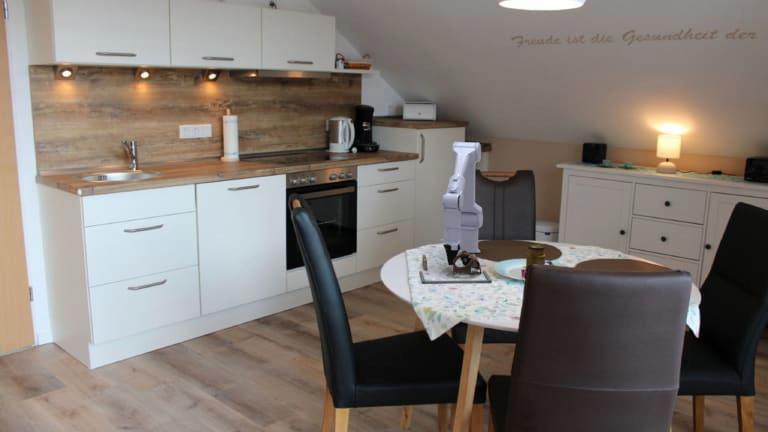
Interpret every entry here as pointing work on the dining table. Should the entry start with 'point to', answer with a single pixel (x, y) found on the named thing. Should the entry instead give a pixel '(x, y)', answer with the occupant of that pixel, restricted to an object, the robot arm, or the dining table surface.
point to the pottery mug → (466, 263)
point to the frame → (457, 281)
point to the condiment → (535, 255)
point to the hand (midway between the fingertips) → (451, 264)
